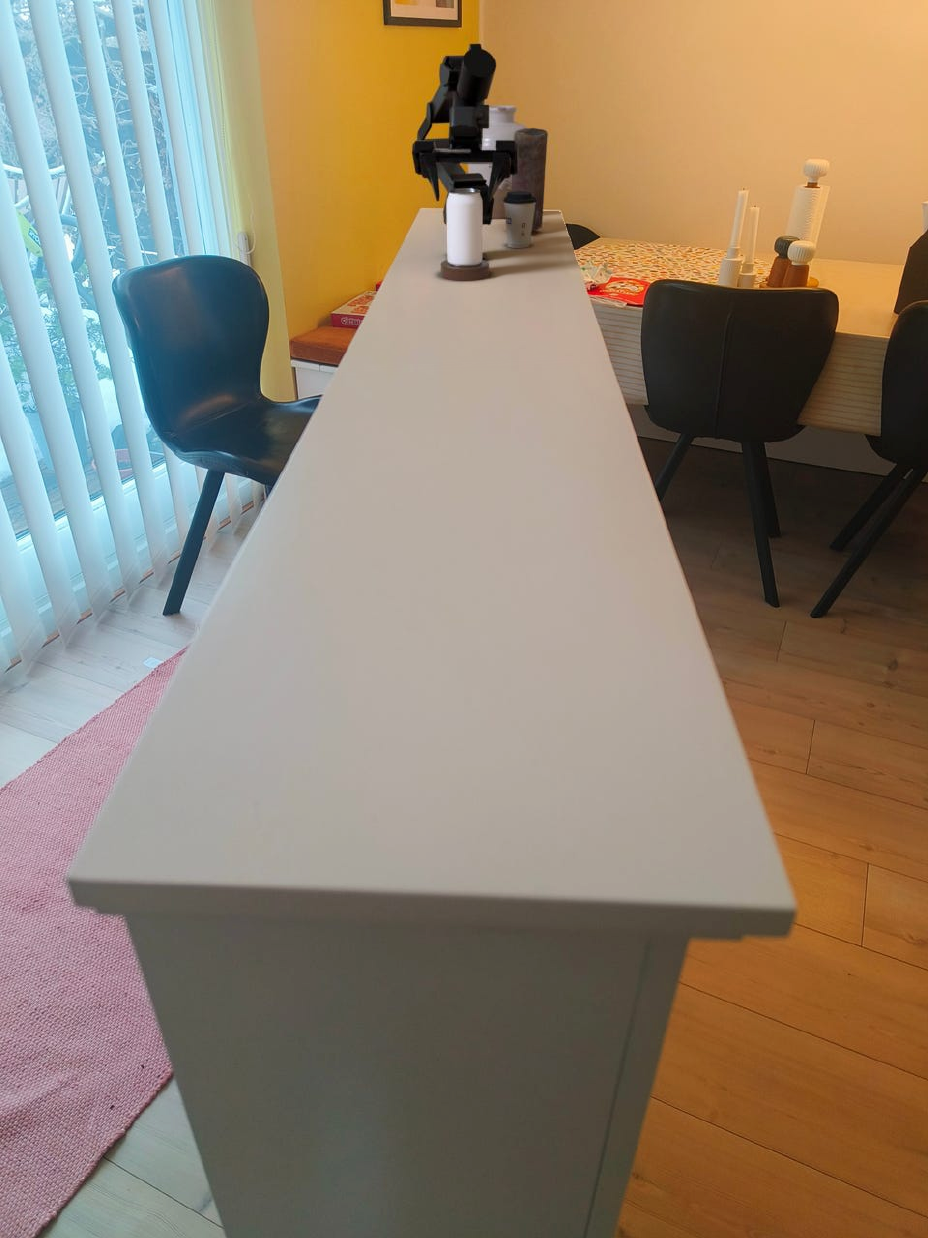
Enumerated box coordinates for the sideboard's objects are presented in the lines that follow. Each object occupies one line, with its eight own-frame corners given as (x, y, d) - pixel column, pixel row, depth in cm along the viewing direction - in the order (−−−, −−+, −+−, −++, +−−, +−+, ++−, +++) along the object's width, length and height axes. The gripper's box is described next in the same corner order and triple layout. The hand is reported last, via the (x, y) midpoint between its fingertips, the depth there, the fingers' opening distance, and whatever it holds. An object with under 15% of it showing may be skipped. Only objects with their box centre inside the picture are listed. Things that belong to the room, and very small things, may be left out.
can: (446, 259, 154) (444, 188, 147) (480, 258, 154) (480, 187, 147) (448, 267, 148) (447, 193, 141) (484, 266, 149) (484, 193, 142)
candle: (546, 229, 186) (551, 127, 175) (538, 236, 181) (542, 131, 169) (514, 228, 188) (517, 127, 177) (505, 234, 183) (507, 130, 171)
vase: (475, 222, 194) (475, 109, 181) (461, 210, 207) (460, 104, 194) (539, 219, 197) (543, 107, 184) (521, 208, 210) (525, 103, 196)
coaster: (439, 269, 156) (438, 258, 154) (485, 268, 156) (485, 257, 155) (442, 281, 148) (442, 269, 147) (491, 279, 149) (492, 268, 148)
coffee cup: (537, 242, 175) (539, 190, 169) (532, 249, 169) (534, 195, 164) (505, 241, 176) (506, 189, 170) (499, 248, 171) (500, 194, 165)
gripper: (410, 86, 140) (404, 167, 137) (519, 85, 139) (515, 167, 136) (418, 134, 151) (413, 210, 148) (519, 134, 150) (515, 211, 147)
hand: (463, 199), depth 145 cm, fingers open, 9 cm apart
